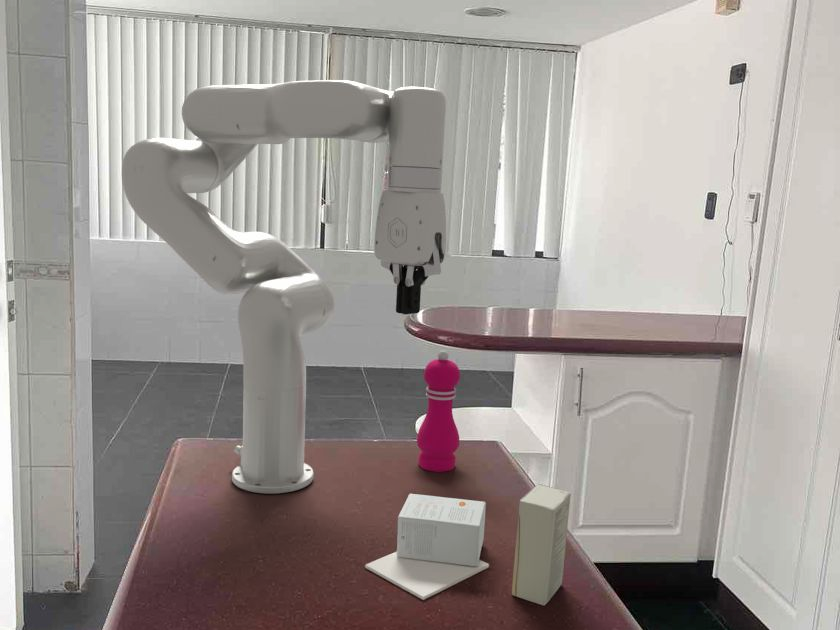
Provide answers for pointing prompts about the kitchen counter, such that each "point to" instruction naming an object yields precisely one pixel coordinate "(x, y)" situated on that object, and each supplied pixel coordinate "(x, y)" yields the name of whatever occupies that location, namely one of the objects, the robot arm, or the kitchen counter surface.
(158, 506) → the kitchen counter surface
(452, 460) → the pepper mill
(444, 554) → the small box
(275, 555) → the kitchen counter surface
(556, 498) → the skincare box
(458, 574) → the mat
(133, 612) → the kitchen counter surface
